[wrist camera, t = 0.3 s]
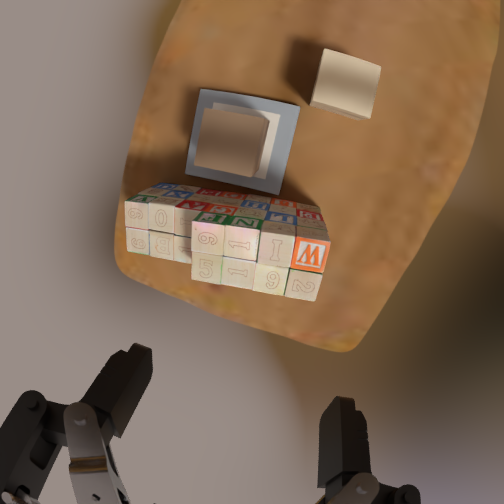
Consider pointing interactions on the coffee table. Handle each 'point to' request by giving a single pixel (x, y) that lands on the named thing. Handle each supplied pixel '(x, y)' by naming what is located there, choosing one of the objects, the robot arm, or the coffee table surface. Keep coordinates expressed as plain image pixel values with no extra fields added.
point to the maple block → (345, 85)
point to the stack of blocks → (232, 237)
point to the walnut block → (231, 142)
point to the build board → (275, 143)
